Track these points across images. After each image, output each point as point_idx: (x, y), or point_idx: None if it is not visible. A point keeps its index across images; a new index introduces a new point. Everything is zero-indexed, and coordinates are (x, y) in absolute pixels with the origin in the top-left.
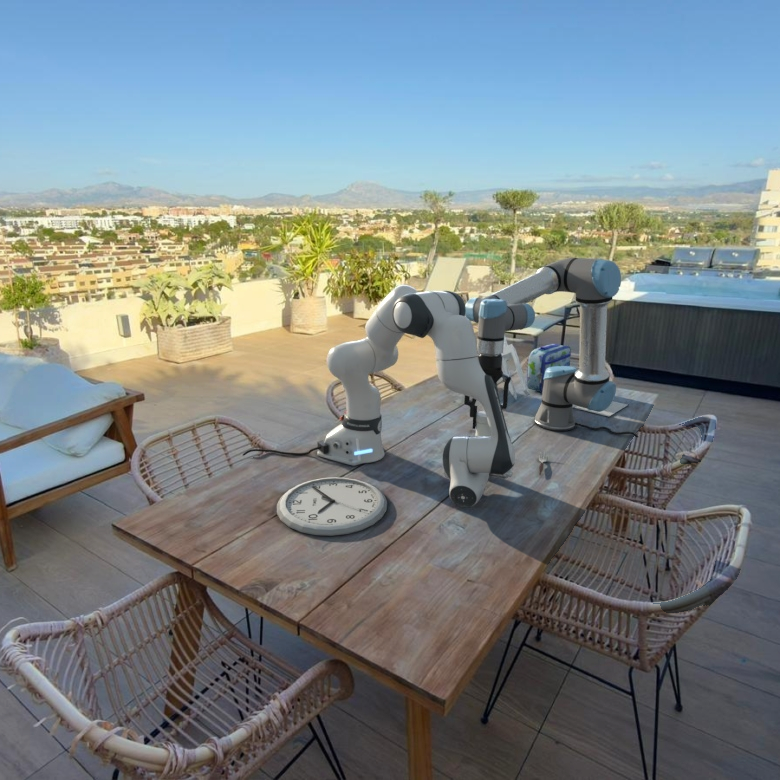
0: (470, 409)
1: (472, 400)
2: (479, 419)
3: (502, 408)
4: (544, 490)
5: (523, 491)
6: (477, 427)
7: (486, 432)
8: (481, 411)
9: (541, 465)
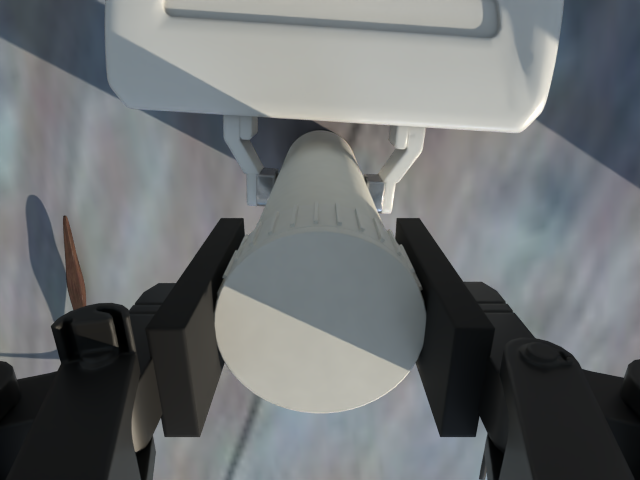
0: (527, 335)
1: (602, 434)
2: (373, 228)
3: (42, 382)
4: (18, 85)
5: (104, 42)
6: (377, 217)
7: (290, 192)
8: (368, 399)
9: (77, 300)
